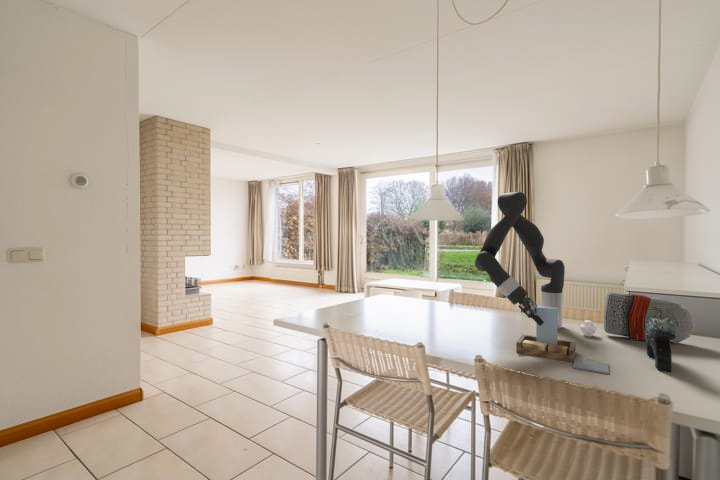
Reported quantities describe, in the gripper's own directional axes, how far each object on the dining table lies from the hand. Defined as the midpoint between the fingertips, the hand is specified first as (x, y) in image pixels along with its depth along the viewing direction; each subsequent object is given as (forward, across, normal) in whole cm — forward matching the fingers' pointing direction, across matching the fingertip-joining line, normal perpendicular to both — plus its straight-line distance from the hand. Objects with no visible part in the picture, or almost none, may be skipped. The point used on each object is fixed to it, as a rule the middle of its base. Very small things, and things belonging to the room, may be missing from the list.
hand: (543, 321), depth 140 cm
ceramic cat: (+33, +6, -17) cm, 37 cm away
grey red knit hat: (+33, +38, -17) cm, 53 cm away
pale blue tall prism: (+9, 0, +7) cm, 11 cm away
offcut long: (+6, -6, +10) cm, 13 cm away
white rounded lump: (+18, +33, -2) cm, 37 cm away
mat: (+19, -11, -3) cm, 22 cm away
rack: (+9, -3, +7) cm, 12 cm away
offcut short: (+12, -6, +4) cm, 14 cm away
